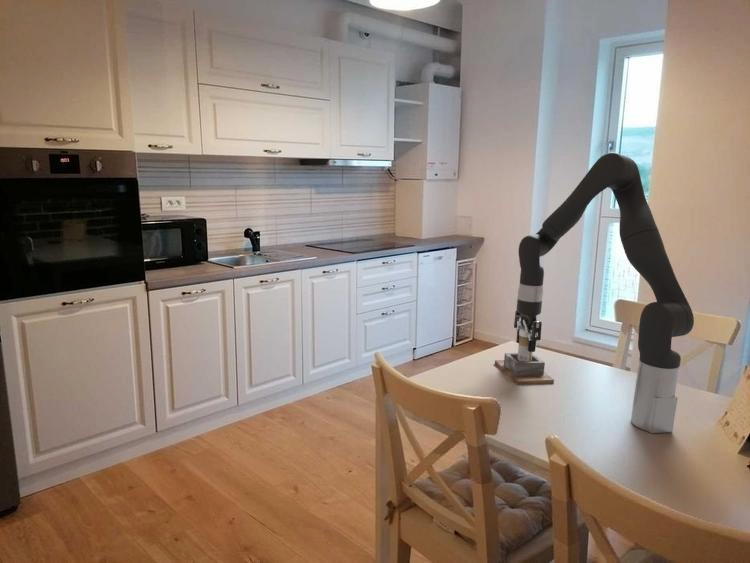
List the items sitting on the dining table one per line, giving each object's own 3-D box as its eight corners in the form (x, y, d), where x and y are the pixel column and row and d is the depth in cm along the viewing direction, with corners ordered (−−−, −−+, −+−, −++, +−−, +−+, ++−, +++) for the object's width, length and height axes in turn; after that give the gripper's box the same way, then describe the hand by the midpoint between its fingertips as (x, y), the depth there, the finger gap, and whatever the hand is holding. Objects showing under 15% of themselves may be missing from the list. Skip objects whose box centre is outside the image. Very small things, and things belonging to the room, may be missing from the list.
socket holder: (553, 383, 168) (555, 367, 167) (517, 384, 166) (518, 368, 165) (528, 362, 185) (529, 348, 184) (494, 363, 183) (495, 349, 182)
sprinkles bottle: (533, 369, 175) (537, 329, 172) (526, 373, 172) (529, 332, 169) (521, 365, 178) (524, 326, 176) (513, 369, 175) (516, 329, 172)
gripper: (551, 303, 164) (546, 354, 167) (530, 292, 178) (526, 339, 181) (528, 303, 163) (523, 355, 166) (509, 292, 177) (505, 340, 180)
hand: (525, 347), depth 174 cm, fingers open, 8 cm apart
